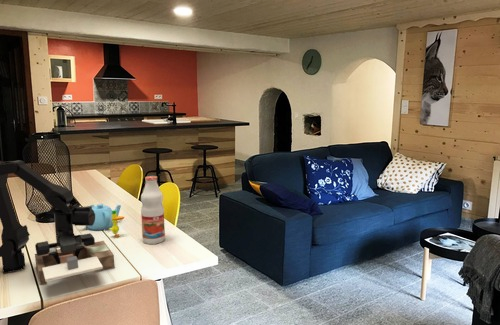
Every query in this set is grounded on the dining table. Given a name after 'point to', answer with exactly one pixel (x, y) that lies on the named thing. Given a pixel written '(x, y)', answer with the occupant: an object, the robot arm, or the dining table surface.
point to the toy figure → (115, 223)
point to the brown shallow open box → (89, 251)
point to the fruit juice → (152, 212)
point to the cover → (71, 268)
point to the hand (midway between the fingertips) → (67, 266)
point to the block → (64, 258)
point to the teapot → (103, 217)
